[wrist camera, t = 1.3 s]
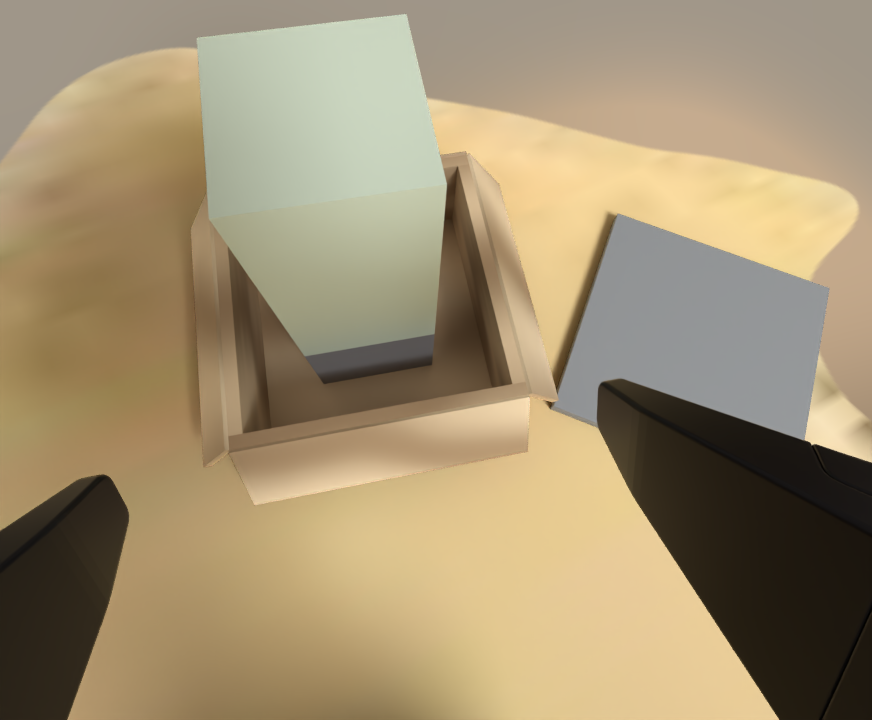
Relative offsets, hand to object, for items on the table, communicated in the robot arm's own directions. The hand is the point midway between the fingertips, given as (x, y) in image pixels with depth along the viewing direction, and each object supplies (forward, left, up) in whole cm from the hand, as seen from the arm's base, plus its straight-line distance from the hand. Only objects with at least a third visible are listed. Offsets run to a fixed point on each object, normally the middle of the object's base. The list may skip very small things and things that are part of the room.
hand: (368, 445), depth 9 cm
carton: (+6, -4, -13) cm, 15 cm away
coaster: (-6, -14, -13) cm, 21 cm away
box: (+6, -4, -13) cm, 15 cm away
